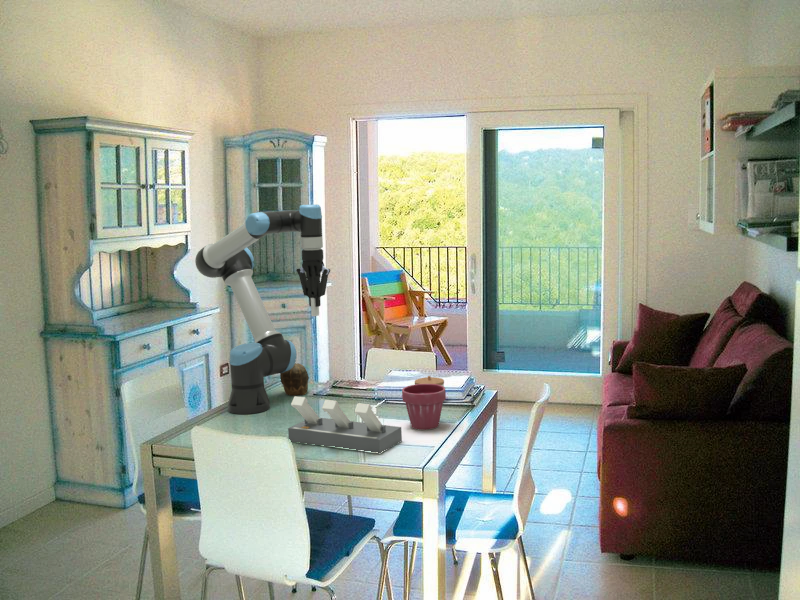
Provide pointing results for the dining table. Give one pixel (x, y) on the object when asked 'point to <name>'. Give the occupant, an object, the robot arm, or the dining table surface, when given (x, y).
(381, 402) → the dining table surface
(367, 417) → the right lever
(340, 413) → the middle lever
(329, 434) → the breaker panel
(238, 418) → the dining table surface
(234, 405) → the robot arm
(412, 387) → the plant pot
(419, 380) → the lidded jar
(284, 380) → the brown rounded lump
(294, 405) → the lever
